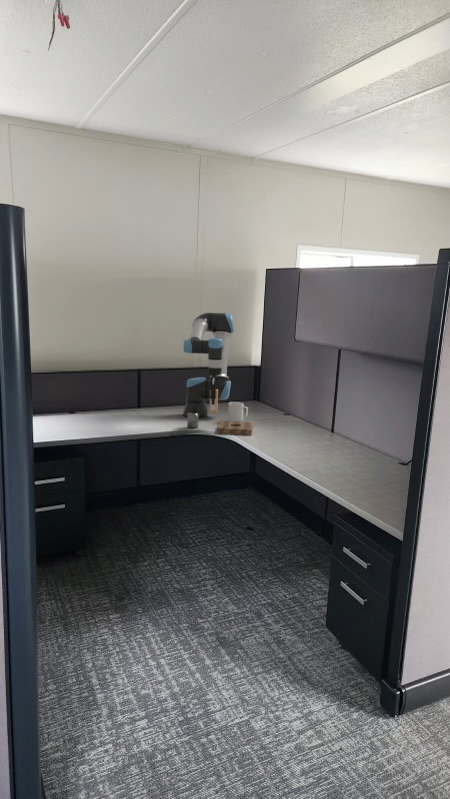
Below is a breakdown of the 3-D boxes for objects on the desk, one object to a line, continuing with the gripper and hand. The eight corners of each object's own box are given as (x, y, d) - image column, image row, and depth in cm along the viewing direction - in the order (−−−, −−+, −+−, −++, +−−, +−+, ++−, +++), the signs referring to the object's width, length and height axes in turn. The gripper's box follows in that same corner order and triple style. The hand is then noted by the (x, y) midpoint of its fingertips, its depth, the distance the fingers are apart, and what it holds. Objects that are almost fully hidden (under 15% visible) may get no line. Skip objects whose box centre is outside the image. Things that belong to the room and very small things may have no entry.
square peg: (209, 411, 297) (210, 390, 294) (210, 410, 301) (210, 389, 298) (216, 412, 297) (217, 390, 294) (217, 410, 300) (218, 389, 298)
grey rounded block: (185, 427, 301) (185, 413, 300) (193, 426, 305) (193, 412, 304) (191, 429, 297) (191, 415, 295) (200, 428, 301) (200, 414, 299)
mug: (225, 422, 318) (225, 403, 316) (232, 419, 325) (233, 401, 323) (243, 425, 312) (244, 406, 310) (250, 422, 319) (251, 403, 317)
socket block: (217, 433, 289) (217, 428, 289) (220, 426, 307) (220, 420, 307) (251, 435, 288) (251, 429, 288) (252, 427, 306) (252, 422, 305)
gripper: (220, 369, 285) (218, 412, 290) (223, 365, 302) (221, 406, 306) (206, 368, 286) (204, 412, 290) (209, 364, 302) (208, 405, 307)
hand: (213, 409), depth 298 cm, fingers closed on square peg, 4 cm apart
